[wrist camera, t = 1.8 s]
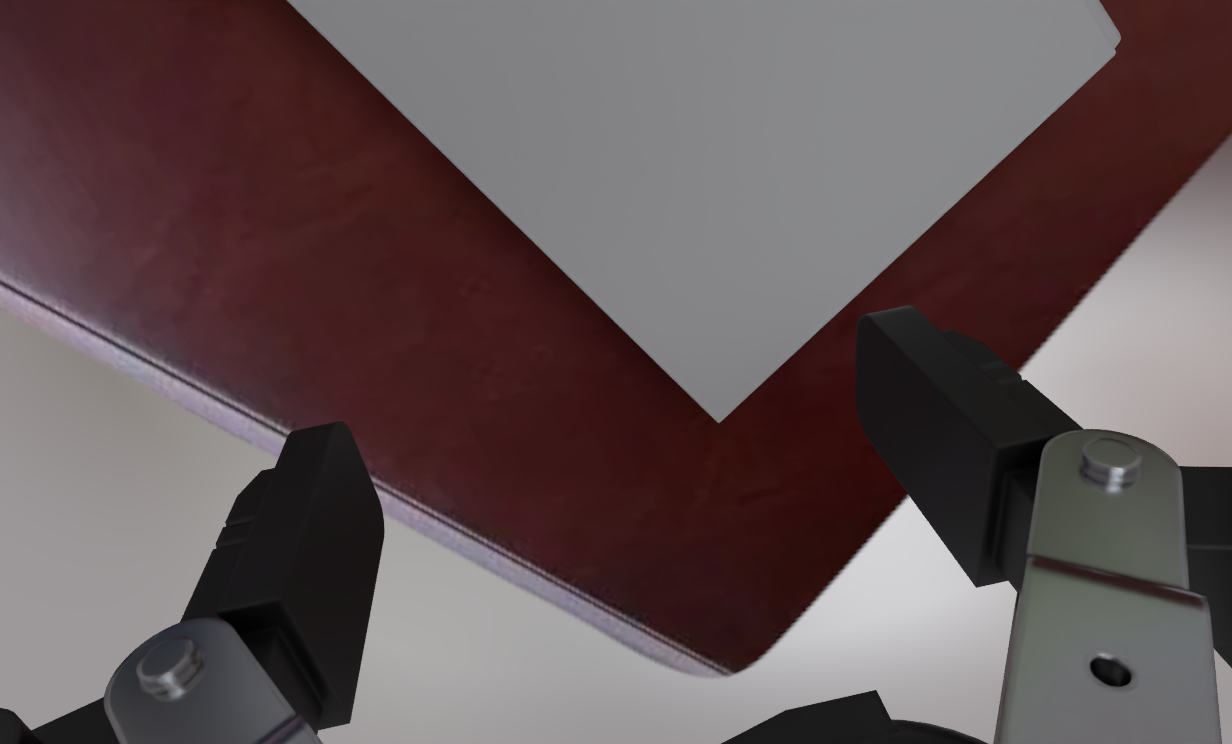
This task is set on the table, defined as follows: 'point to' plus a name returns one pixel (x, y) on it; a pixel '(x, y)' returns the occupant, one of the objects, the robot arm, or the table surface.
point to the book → (722, 142)
